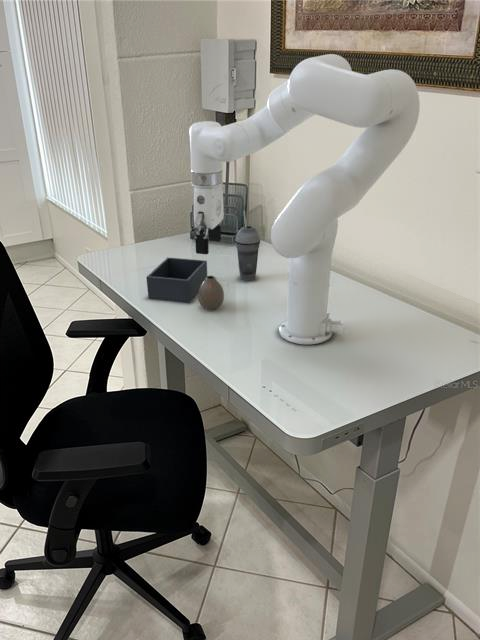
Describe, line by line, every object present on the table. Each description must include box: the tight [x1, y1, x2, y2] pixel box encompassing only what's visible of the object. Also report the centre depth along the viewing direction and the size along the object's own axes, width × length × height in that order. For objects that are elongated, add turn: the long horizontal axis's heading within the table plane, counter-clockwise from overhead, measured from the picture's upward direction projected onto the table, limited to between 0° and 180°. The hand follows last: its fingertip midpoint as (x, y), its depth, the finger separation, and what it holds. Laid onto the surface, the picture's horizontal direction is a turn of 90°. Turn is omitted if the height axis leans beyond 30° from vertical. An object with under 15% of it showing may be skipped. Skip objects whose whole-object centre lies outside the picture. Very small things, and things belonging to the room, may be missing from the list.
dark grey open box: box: [145, 257, 208, 304], centre depth 168 cm, size 12×15×7 cm
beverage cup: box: [234, 209, 261, 282], centre depth 169 cm, size 7×7×20 cm
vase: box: [197, 275, 225, 312], centre depth 156 cm, size 7×7×9 cm
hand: (208, 246), depth 150 cm, fingers open, 9 cm apart
